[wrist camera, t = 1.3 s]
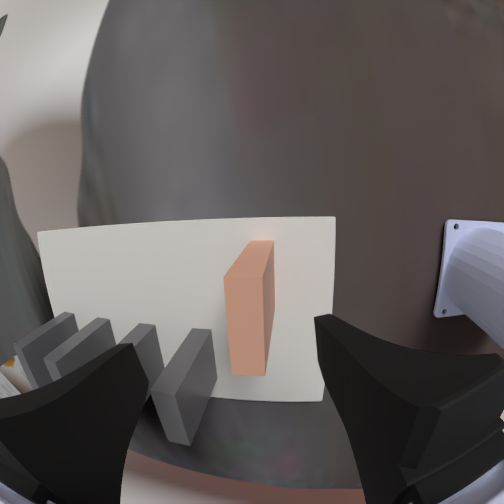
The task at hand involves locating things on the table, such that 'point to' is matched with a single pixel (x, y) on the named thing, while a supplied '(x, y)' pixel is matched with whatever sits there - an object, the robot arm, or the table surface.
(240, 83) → the table surface
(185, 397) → the domino
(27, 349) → the domino
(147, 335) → the domino
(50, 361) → the domino
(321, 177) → the table surface
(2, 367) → the coffee box
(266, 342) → the domino
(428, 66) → the table surface
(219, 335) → the grey mat
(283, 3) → the table surface
